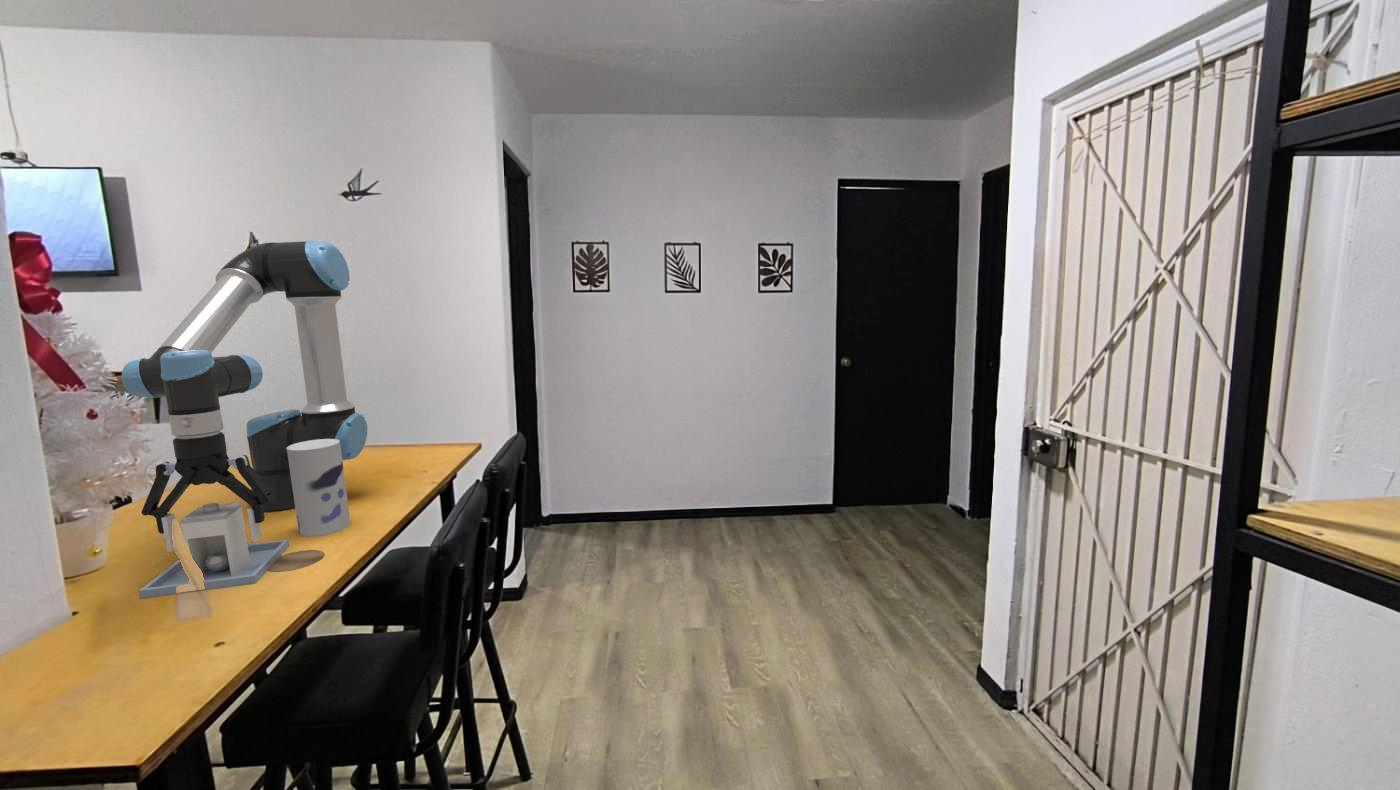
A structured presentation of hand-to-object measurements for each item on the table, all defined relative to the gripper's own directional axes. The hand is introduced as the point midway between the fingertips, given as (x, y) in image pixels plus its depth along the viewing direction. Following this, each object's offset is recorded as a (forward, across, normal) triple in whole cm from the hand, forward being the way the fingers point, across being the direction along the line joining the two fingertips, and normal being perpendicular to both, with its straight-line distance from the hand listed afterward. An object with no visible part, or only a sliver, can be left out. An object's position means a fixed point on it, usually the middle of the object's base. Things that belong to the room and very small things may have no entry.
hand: (215, 544), depth 119 cm
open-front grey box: (+5, 0, 0) cm, 5 cm away
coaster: (+6, +13, 0) cm, 14 cm away
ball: (+5, 0, 0) cm, 5 cm away
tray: (+6, 0, 0) cm, 6 cm away
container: (+6, +13, +18) cm, 23 cm away
